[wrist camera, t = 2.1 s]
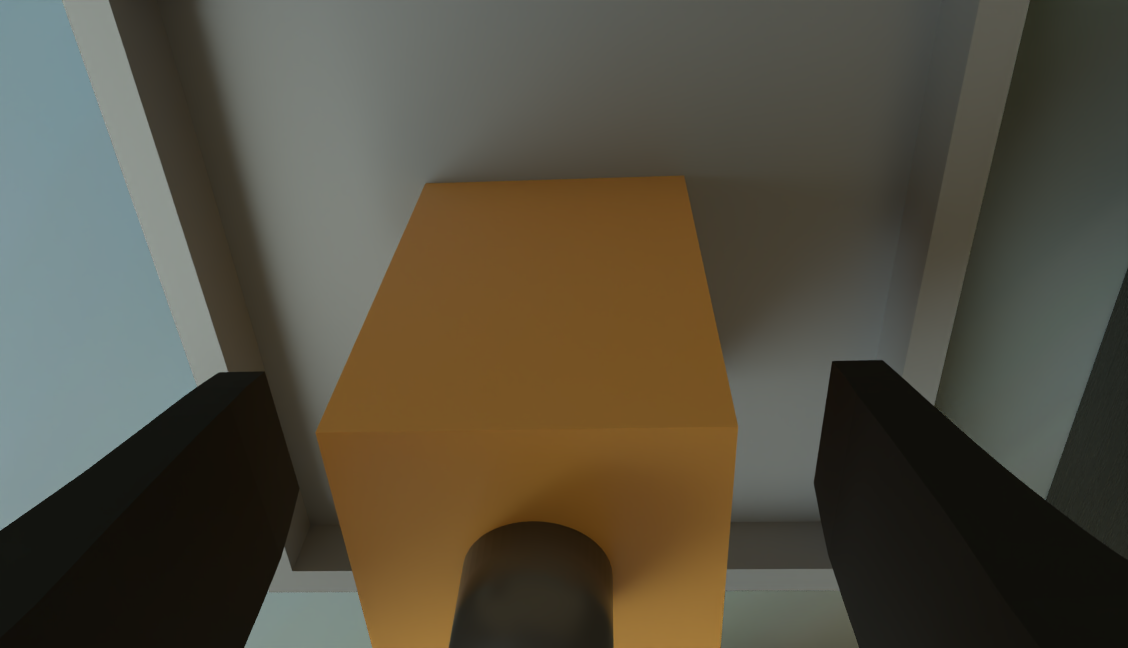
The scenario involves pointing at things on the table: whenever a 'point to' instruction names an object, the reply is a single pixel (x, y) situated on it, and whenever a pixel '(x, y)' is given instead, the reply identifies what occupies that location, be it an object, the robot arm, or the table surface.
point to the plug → (538, 424)
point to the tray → (564, 151)
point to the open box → (1100, 443)
